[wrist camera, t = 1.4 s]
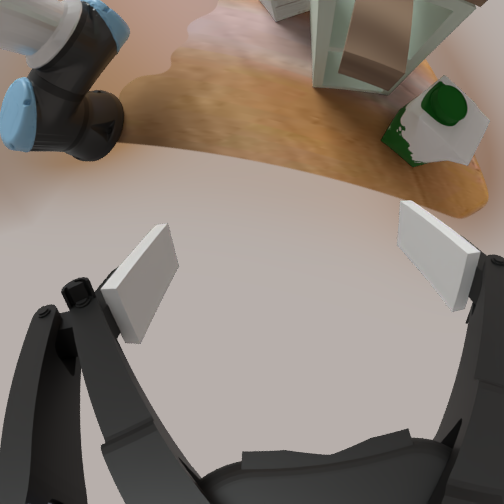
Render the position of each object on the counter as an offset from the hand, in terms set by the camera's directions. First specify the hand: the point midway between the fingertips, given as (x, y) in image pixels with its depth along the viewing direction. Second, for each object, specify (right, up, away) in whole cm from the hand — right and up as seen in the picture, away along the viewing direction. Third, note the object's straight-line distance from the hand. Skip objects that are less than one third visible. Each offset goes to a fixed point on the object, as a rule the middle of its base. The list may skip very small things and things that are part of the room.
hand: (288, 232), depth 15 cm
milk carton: (+24, +18, +24) cm, 38 cm away
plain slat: (+8, +22, -6) cm, 24 cm away
